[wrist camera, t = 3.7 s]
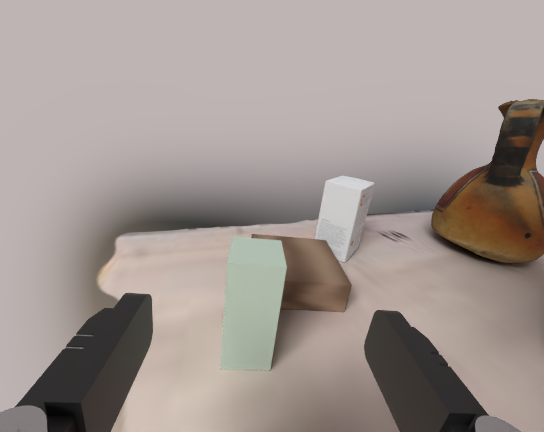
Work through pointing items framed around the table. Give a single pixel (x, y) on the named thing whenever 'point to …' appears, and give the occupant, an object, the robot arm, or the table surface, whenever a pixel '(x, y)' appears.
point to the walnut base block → (311, 275)
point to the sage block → (252, 303)
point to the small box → (343, 214)
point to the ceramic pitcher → (501, 193)
